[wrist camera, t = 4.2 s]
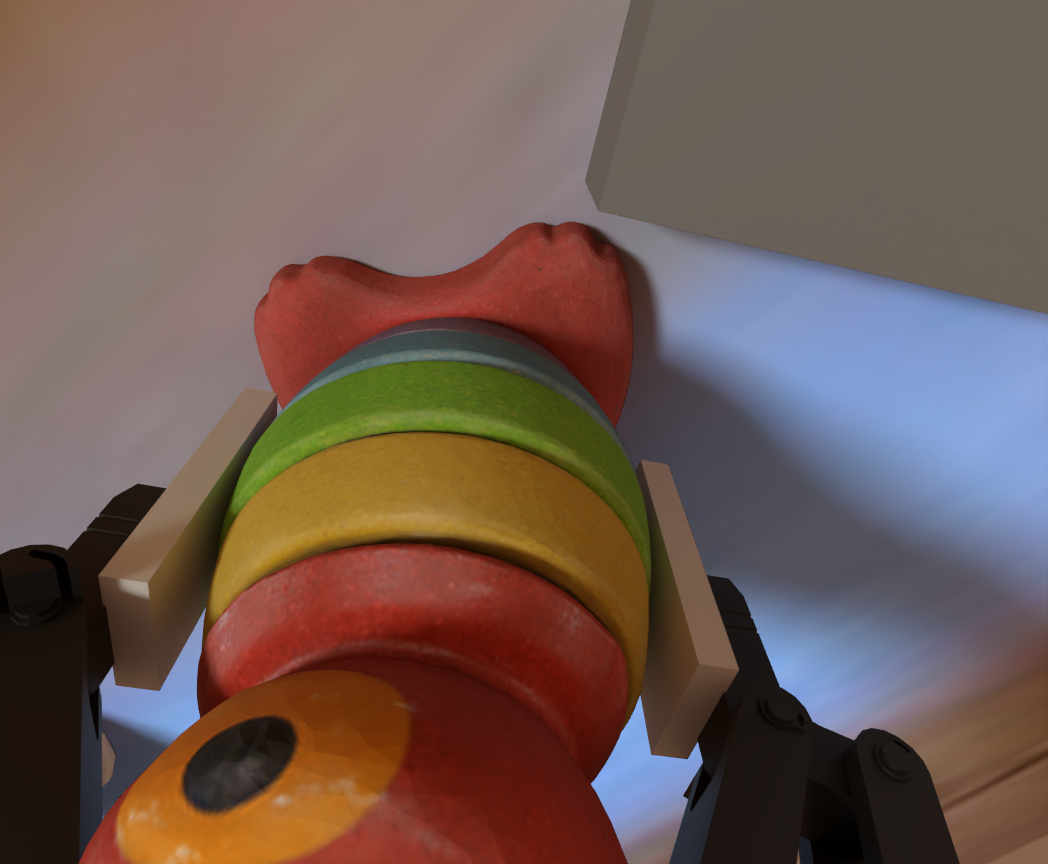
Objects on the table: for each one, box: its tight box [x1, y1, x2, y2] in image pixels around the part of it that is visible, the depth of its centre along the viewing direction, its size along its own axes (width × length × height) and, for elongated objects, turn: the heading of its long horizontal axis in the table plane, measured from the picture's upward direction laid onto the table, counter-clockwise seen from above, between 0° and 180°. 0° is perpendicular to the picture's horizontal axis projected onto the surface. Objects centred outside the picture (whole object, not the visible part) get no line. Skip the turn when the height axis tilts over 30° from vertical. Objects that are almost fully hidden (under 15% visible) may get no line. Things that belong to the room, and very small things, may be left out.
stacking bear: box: [79, 222, 651, 864], centre depth 13 cm, size 11×10×18 cm
